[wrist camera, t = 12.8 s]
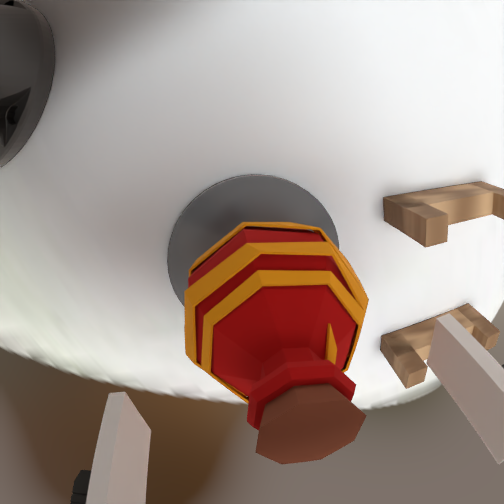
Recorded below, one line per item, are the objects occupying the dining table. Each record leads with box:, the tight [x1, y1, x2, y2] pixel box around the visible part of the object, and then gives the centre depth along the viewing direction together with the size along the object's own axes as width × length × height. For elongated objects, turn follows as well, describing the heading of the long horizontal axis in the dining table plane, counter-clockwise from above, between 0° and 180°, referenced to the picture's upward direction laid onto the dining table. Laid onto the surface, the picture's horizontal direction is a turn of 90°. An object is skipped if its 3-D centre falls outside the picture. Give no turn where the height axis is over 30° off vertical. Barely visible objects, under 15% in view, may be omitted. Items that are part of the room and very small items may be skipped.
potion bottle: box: [184, 222, 369, 464], centre depth 17 cm, size 10×10×15 cm
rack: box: [380, 181, 504, 389], centre depth 24 cm, size 12×16×6 cm
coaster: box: [167, 175, 339, 307], centre depth 24 cm, size 13×13×1 cm
